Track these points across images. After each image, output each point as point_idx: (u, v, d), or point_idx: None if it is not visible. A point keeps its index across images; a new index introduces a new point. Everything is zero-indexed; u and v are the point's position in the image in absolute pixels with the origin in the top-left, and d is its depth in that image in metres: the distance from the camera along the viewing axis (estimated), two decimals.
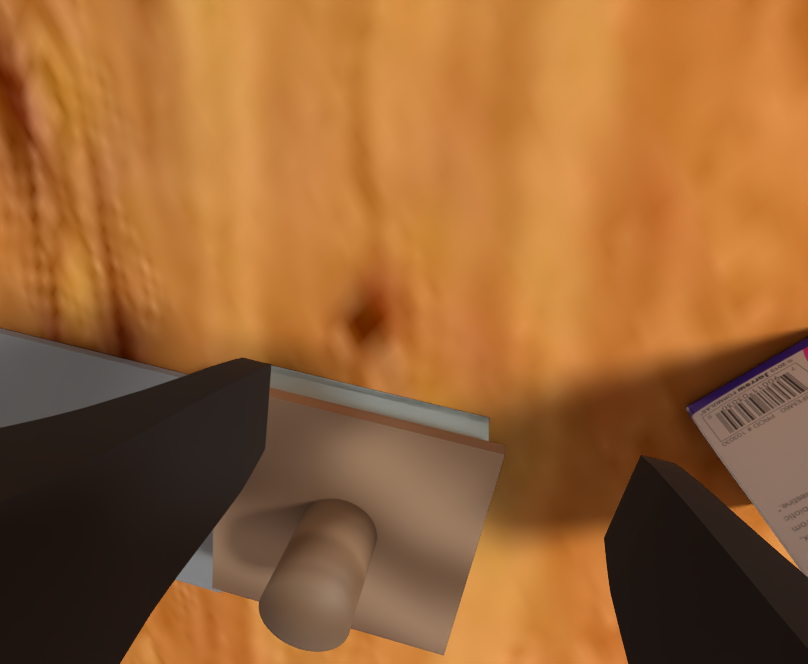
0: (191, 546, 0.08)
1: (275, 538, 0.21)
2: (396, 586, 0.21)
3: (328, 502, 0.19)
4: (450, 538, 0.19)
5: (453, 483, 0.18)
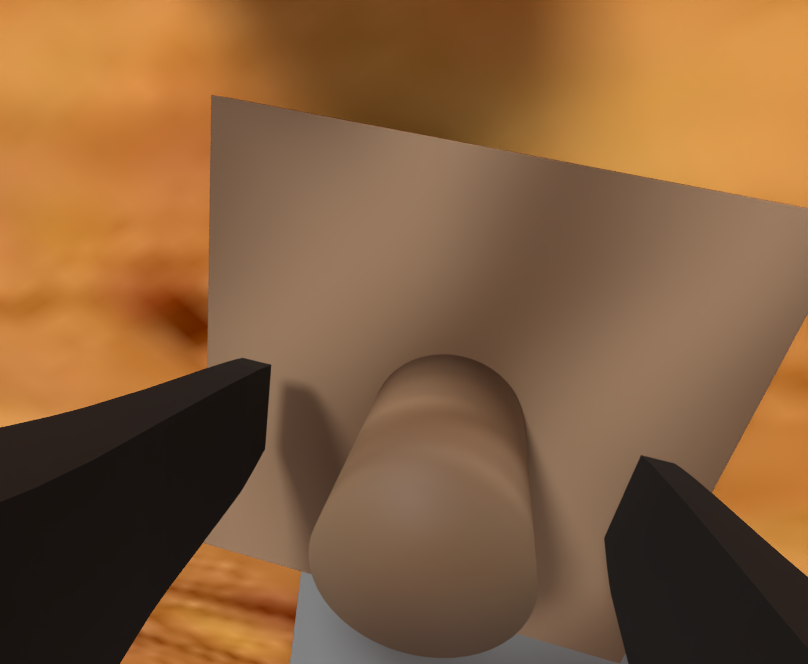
0: (191, 546, 0.08)
1: None
2: (593, 327, 0.09)
3: None
4: (437, 203, 0.09)
5: (297, 198, 0.09)
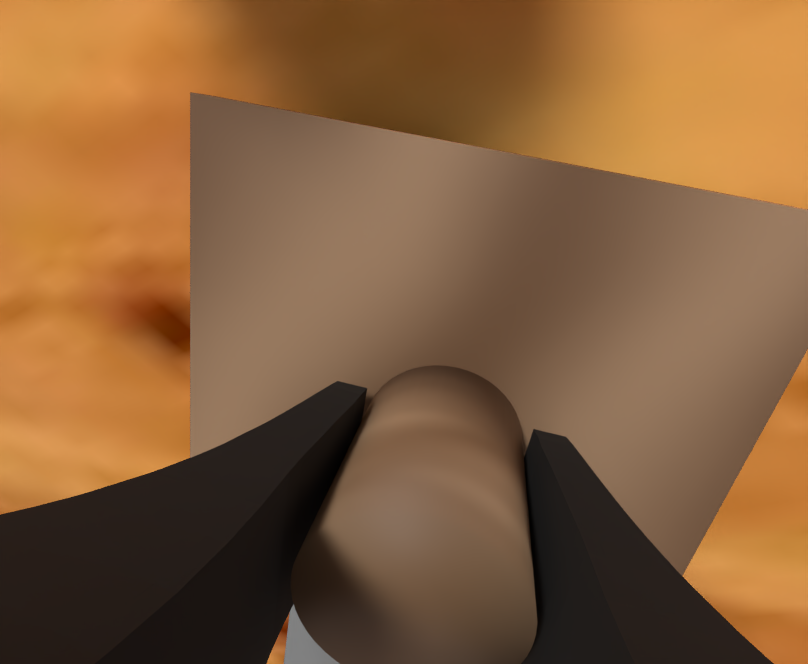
0: None
1: None
2: (594, 337, 0.09)
3: None
4: (429, 206, 0.08)
5: (282, 201, 0.09)
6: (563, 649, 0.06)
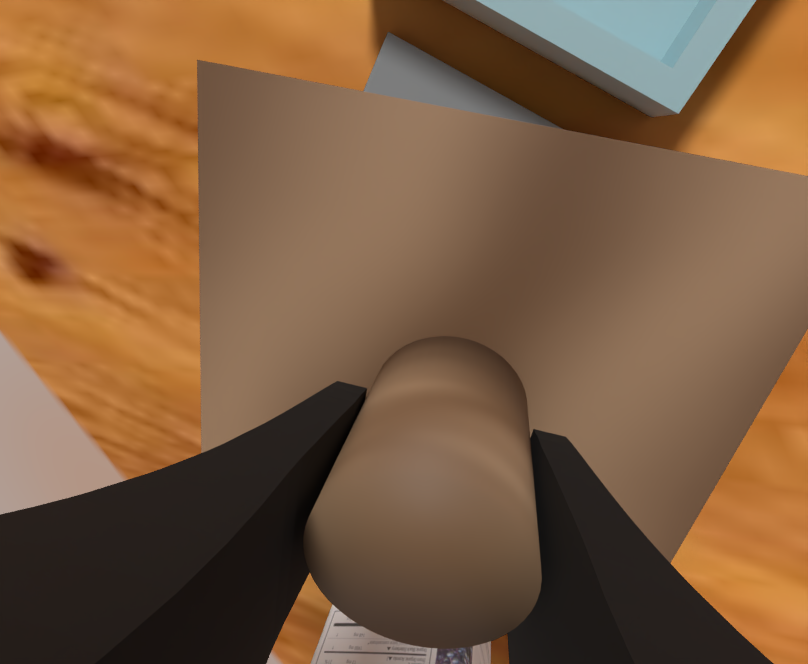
0: (302, 578, 0.08)
1: None
2: (601, 307, 0.09)
3: None
4: (438, 176, 0.08)
5: (290, 171, 0.09)
6: (563, 649, 0.06)
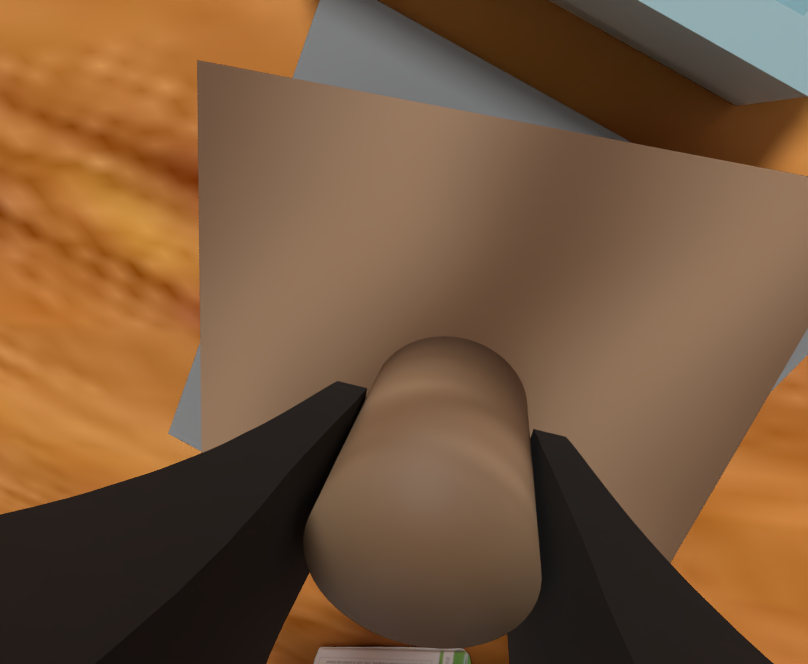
0: (301, 578, 0.08)
1: None
2: (601, 307, 0.09)
3: None
4: (437, 176, 0.08)
5: (290, 172, 0.09)
6: (563, 649, 0.06)
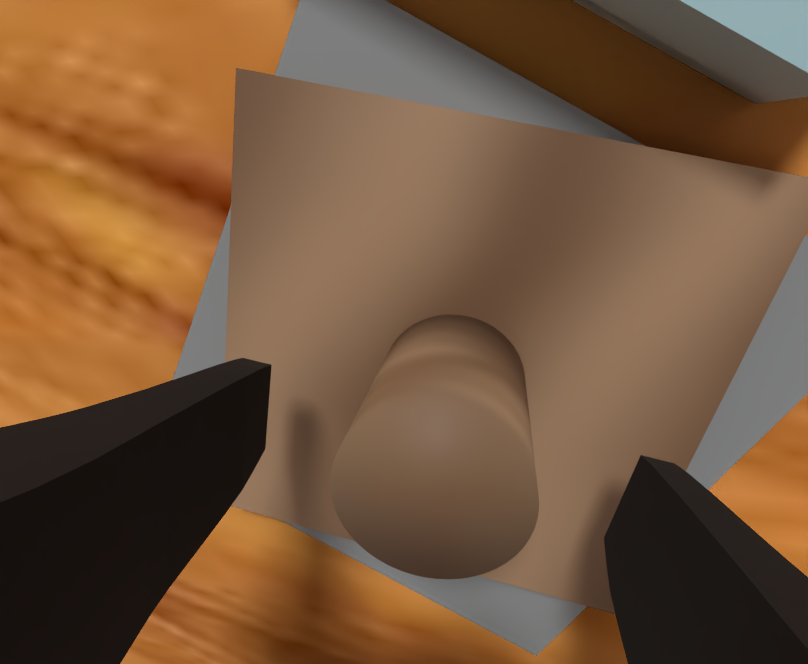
0: (191, 546, 0.08)
1: None
2: (589, 286, 0.10)
3: None
4: (445, 169, 0.10)
5: (315, 166, 0.10)
6: None
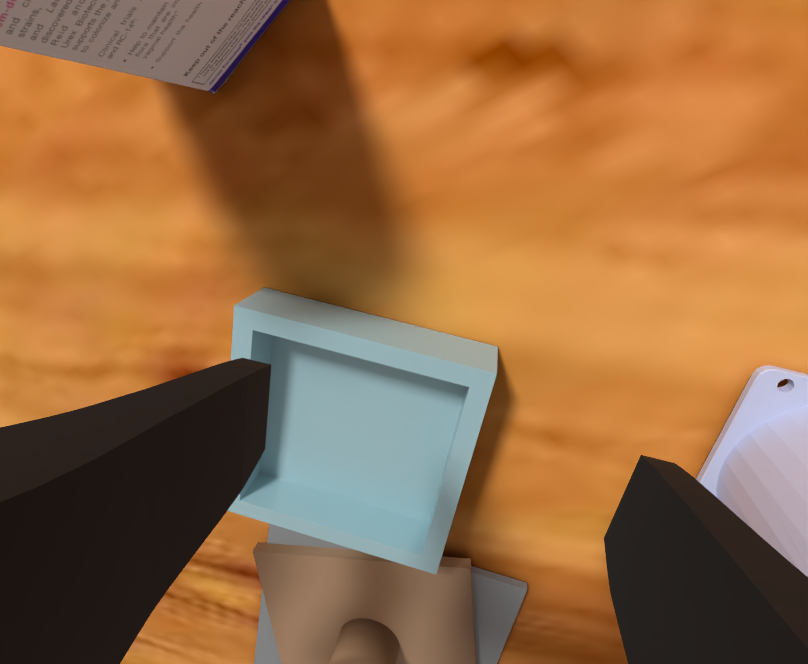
0: (191, 546, 0.08)
1: None
2: (405, 605, 0.24)
3: None
4: (337, 574, 0.24)
5: (290, 576, 0.25)
6: None
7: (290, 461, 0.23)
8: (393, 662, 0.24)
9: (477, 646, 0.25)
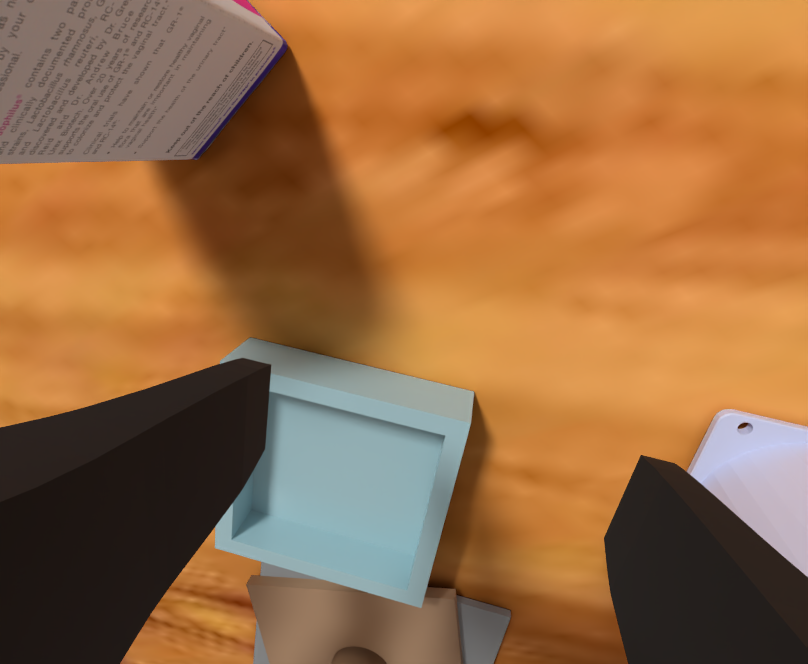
0: (191, 546, 0.08)
1: None
2: (394, 634, 0.25)
3: None
4: (328, 605, 0.25)
5: (283, 607, 0.26)
6: None
7: (279, 499, 0.24)
8: None
9: None
